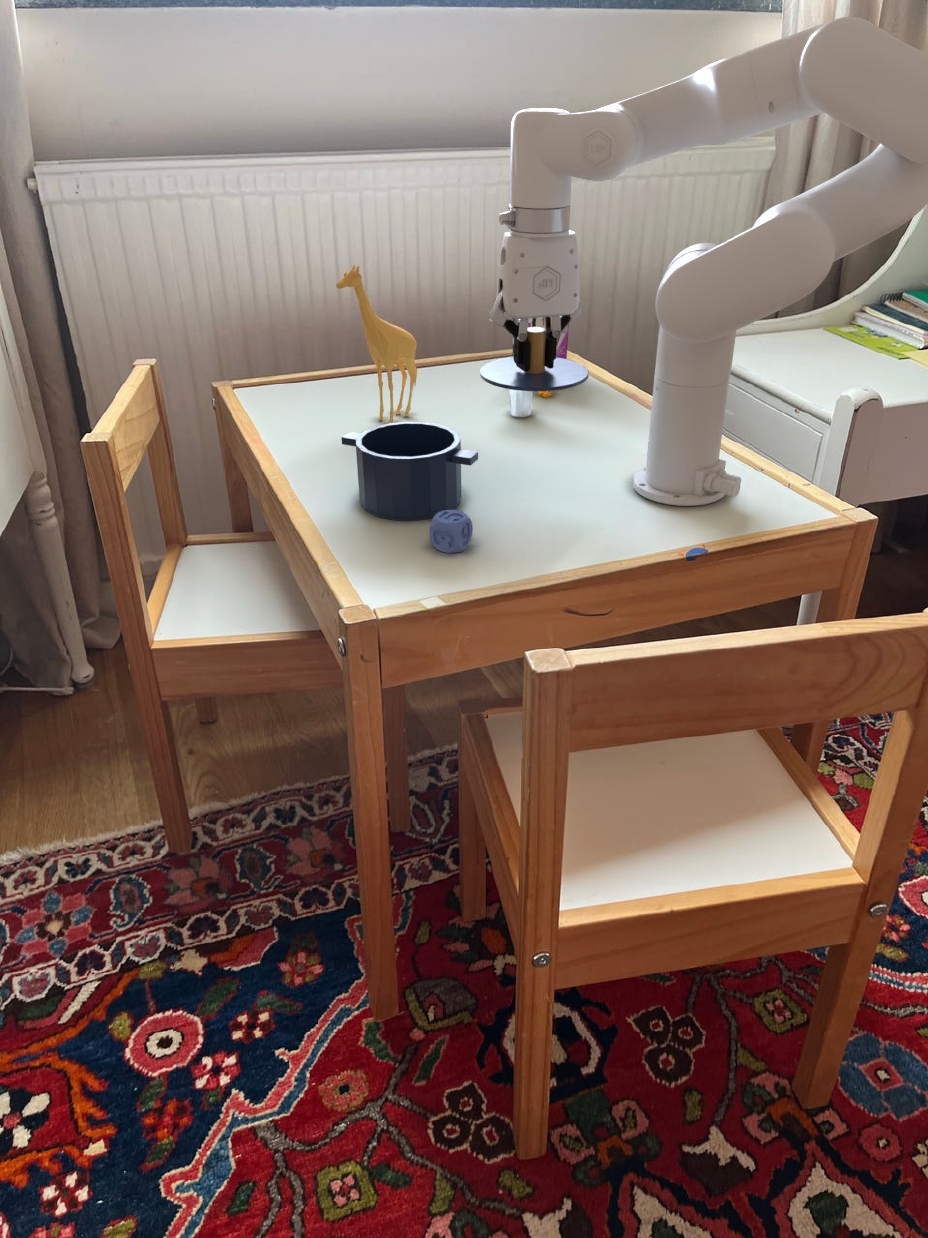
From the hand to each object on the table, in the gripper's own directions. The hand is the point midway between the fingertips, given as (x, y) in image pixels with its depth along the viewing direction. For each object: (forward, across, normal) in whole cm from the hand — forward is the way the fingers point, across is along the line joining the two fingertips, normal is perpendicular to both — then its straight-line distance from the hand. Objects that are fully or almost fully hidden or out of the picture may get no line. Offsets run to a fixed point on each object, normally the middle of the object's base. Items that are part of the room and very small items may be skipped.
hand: (534, 365), depth 130 cm
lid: (+1, 0, 0) cm, 1 cm away
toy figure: (+16, +16, +32) cm, 39 cm away
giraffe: (+16, -13, +29) cm, 36 cm away
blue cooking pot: (+16, -19, -2) cm, 24 cm away
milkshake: (+16, +9, +24) cm, 30 cm away
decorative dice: (+16, -18, -18) cm, 30 cm away
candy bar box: (+16, +20, +42) cm, 49 cm away
